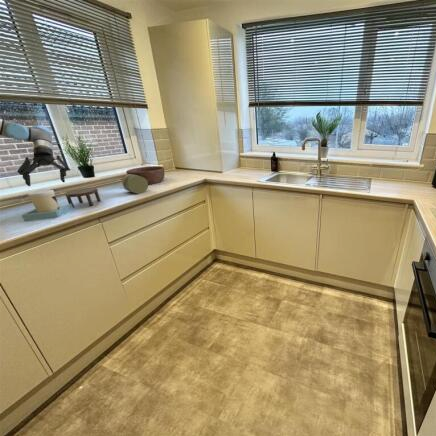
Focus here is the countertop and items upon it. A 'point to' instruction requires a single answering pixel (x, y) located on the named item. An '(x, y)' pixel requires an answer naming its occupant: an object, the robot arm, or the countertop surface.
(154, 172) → the wooden bowl
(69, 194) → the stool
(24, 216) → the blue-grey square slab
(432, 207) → the countertop surface
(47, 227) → the countertop surface
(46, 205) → the coffee cup
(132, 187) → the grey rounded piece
